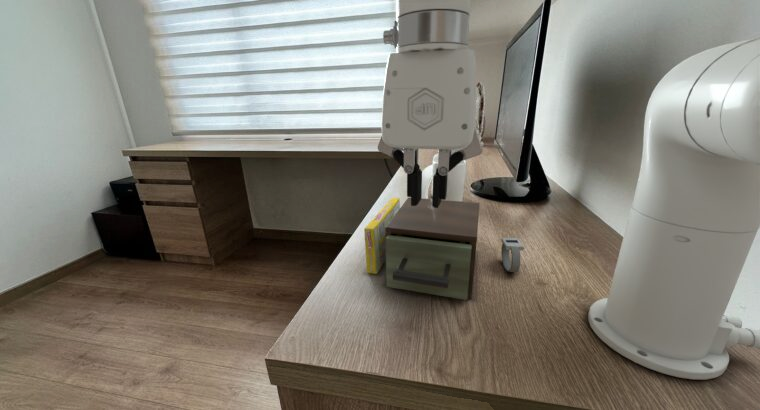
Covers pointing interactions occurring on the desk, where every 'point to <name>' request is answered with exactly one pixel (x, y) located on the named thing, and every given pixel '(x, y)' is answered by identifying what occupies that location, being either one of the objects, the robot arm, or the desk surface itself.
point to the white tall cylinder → (454, 181)
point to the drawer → (428, 265)
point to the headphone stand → (426, 181)
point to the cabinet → (439, 224)
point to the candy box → (379, 236)
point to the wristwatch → (515, 249)
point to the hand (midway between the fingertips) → (426, 202)
